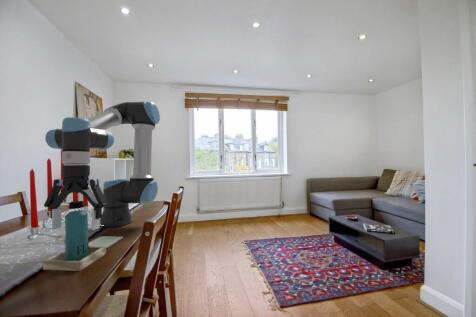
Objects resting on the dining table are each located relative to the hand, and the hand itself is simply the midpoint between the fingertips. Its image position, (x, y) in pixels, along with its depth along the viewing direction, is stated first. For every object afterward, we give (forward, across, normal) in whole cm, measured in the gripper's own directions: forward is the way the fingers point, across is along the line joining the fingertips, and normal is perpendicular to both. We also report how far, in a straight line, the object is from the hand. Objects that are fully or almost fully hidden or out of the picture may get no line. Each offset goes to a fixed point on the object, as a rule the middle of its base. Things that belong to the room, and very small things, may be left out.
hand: (76, 228), depth 73 cm
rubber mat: (+11, -2, +16) cm, 20 cm away
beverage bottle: (+11, 0, 0) cm, 11 cm away
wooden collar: (+11, 0, 0) cm, 11 cm away
